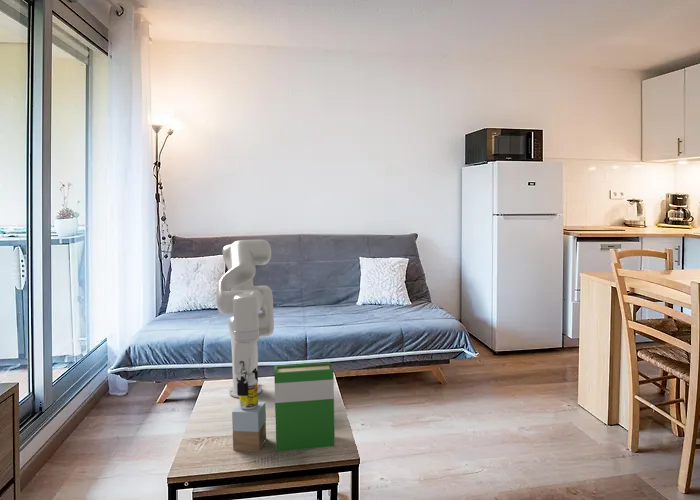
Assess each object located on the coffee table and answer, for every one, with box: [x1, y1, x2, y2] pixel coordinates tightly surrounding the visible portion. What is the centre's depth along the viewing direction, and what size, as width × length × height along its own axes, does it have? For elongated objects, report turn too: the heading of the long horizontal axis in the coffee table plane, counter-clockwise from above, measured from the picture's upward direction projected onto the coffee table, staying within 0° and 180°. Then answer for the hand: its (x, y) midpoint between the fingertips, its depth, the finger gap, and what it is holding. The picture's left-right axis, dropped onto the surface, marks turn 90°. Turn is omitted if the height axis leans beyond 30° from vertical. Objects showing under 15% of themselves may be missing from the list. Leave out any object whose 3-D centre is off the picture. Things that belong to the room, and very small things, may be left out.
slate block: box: [231, 401, 267, 432], centre depth 150 cm, size 8×8×6 cm
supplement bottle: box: [239, 372, 259, 409], centre depth 149 cm, size 6×6×10 cm
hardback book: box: [273, 361, 336, 452], centre depth 150 cm, size 18×7×24 cm, turn 99°
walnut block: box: [232, 420, 267, 452], centre depth 150 cm, size 8×8×6 cm
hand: (248, 389), depth 149 cm, fingers open, 9 cm apart
